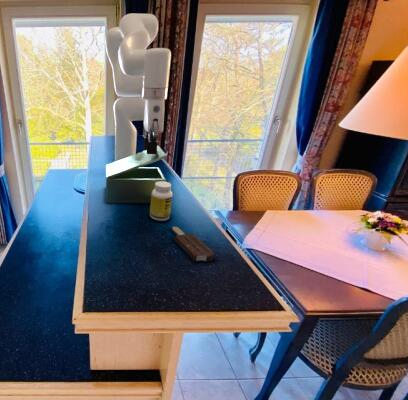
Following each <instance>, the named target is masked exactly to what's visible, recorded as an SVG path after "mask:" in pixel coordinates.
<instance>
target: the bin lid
mask: <svg viewBox="0 0 408 400" xmlns="http://www.w3.org/2000/svg"><path fill="white" fill-rule="evenodd" d="M164 159H167V154H166V153H165V152H164V151H163V149H162V148H161V146H159V145H157V153H156V154H147V149H144V150H143V151H141V152H138V153H137V152H136V154H135V155H132V156H129V157H127V158H124V159H121V160H119V161H116V162H115V161H113V162H111V163H108V164H106V165H105V179H106V178H107V179H109V178H112V177H114V176H117V175H120V174H123V173H125V172H128V171H131V170H134V169H136V168H143V167H144V166H147V165H150V164H153V163H155V162H158V161H161V160H164Z"/></svg>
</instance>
